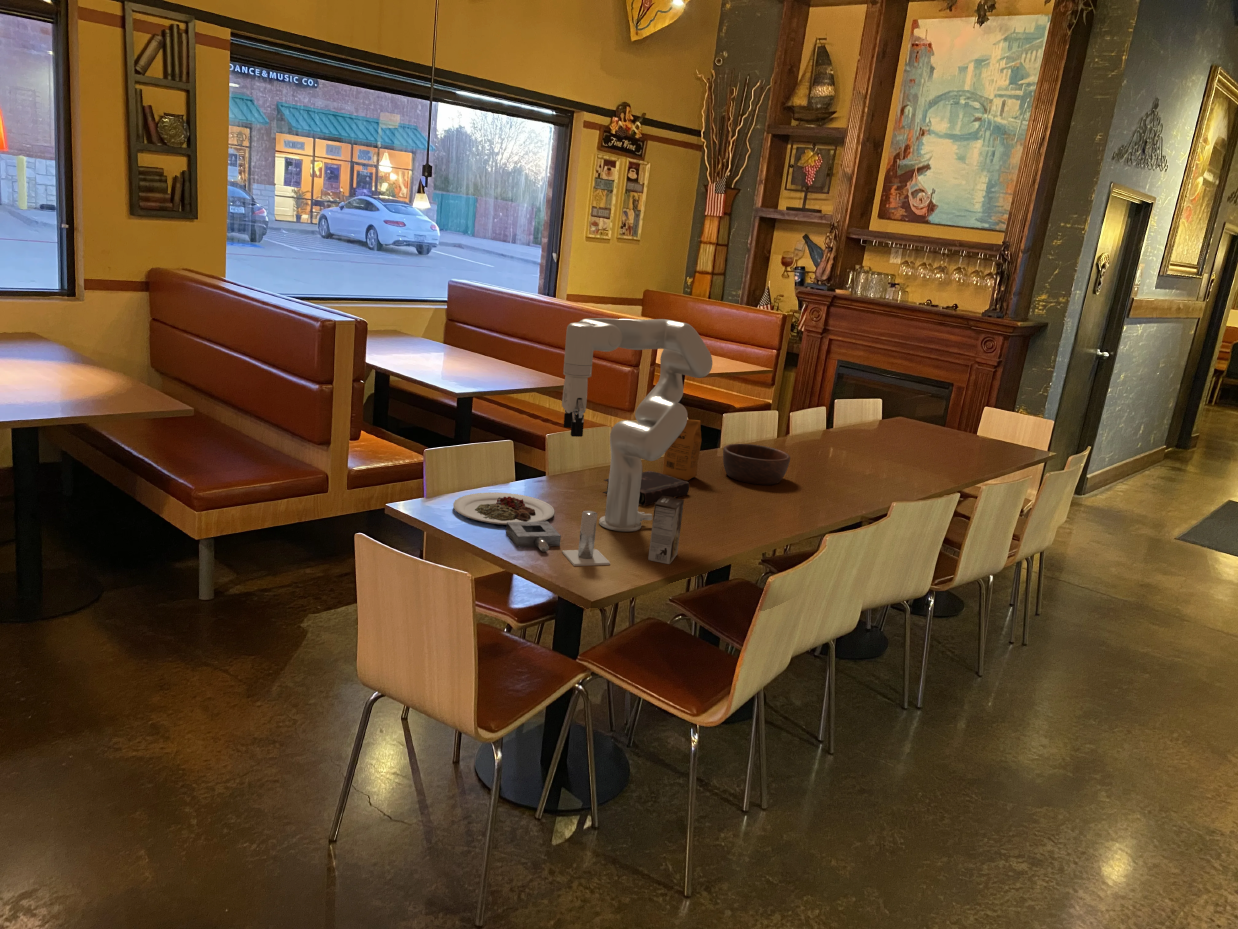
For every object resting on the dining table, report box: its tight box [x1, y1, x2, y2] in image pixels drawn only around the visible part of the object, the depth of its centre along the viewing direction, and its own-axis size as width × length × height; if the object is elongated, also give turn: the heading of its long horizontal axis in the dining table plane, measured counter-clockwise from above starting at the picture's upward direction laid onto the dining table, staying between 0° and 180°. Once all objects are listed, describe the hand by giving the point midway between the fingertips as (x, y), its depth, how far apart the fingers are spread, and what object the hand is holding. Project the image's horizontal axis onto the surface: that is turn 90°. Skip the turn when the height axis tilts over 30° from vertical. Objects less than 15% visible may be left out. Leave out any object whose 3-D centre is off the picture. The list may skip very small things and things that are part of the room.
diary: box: [602, 470, 690, 507], centre depth 317 cm, size 19×25×5 cm
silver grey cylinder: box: [577, 510, 598, 559], centre depth 248 cm, size 4×4×12 cm
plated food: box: [452, 492, 555, 526], centre depth 280 cm, size 30×30×3 cm
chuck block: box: [505, 520, 562, 553], centre depth 257 cm, size 12×17×3 cm
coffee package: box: [661, 418, 702, 481], centre depth 341 cm, size 10×12×22 cm
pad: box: [561, 548, 611, 567], centre depth 249 cm, size 10×10×1 cm
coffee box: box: [647, 496, 685, 565], centre depth 255 cm, size 9×6×16 cm
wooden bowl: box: [722, 443, 791, 486], centre depth 352 cm, size 25×25×10 cm
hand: (572, 431), depth 256 cm, fingers open, 9 cm apart
